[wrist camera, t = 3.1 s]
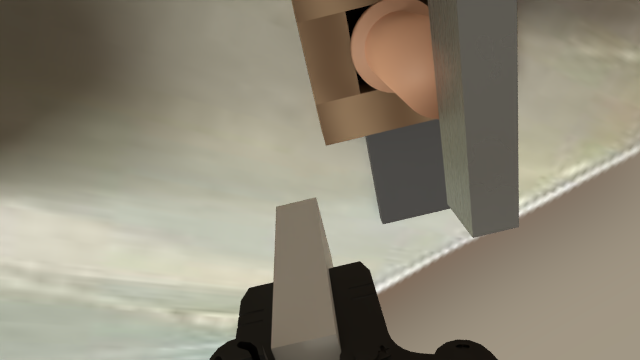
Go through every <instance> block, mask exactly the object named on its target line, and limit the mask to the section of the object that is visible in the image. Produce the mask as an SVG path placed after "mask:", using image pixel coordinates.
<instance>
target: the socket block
mask: <svg viewBox="0 0 640 360" xmlns="http://www.w3.org/2000/svg"><path fill="white" fill-rule="evenodd" d="M291 1H292V5H293V9H294V14H295V18H296V22H297V26H298V31H299V35H300V39H301V44H302V48H303V52H304V56H305V61H306V65H307V69H308V74H309V78H310V82H311V87H312V91H313V95H314V99H315V104H316V108H317V112H318V117H319V121H320V125H321V129H322V133H323V136H324V140H325V144H326V145H330V144H335V143H339V142H343V141H347V140H351V139H355V138H359V137H364V136H368V135H372V134H376V133H380V132H384V131H388V130H393V129H397V128H401V127H405V126H409V125H413V124H418V123H422V122H426V121H430V120H434V119H431V118H427V117H424V116H422V115H420V114H418V113H416V112H415V111H414V110H412V109H411V108H410V107H409V106H408V105H407V104H406V103H405V102H404V101H403V100H402V99H401V98H400V97H399V96H398V95H397V94H396V93H387V92H383V91H380V90H377V89H375V88H373V87H371V86H370V85H369V84H367V83H366V82H365V81H364V80H363V79H362V80H358V79H357V73H356V69H355V67H354V65H353V62H352V58H351V53H350V42H351V40H350V35H349V29H348V24H347V18H346V13H345V11H349V10H353V9H357V8H361V7H365V6H369V5H373V4H374V3H376V2H378V1H380V0H291ZM418 1H421V2H422V3H424V4H425V5H427V6H428V0H418Z"/></svg>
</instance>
